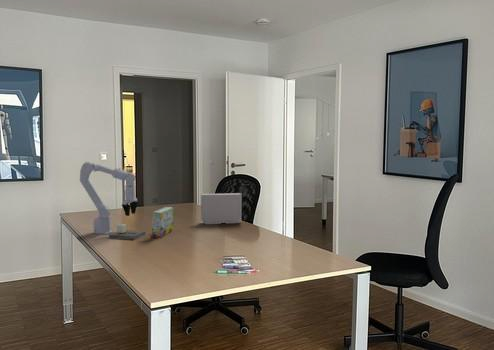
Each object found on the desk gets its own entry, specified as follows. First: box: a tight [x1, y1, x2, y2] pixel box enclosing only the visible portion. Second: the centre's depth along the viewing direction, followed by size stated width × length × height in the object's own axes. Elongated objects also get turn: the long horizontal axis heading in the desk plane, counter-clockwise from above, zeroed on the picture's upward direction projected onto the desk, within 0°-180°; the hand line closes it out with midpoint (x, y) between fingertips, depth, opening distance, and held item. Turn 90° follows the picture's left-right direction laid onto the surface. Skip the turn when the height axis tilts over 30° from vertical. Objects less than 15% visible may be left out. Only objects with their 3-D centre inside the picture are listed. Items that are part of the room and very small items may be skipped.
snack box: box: [151, 206, 174, 239], centre depth 283 cm, size 21×6×15 cm, turn 168°
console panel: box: [108, 229, 146, 241], centre depth 276 cm, size 16×14×2 cm
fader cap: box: [116, 223, 127, 233], centre depth 276 cm, size 4×4×5 cm
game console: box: [200, 192, 243, 225], centre depth 318 cm, size 6×27×20 cm, turn 104°
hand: (130, 214), depth 289 cm, fingers open, 7 cm apart
